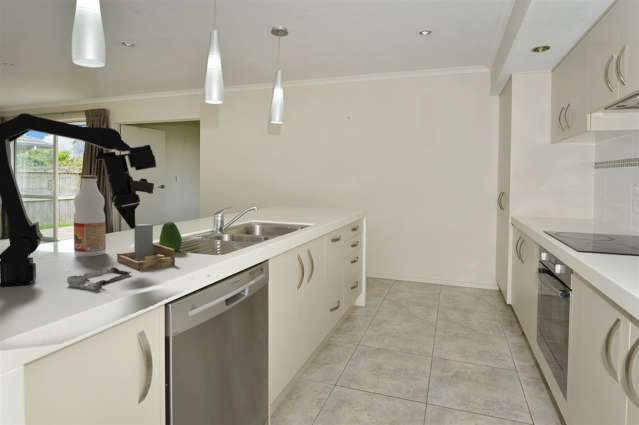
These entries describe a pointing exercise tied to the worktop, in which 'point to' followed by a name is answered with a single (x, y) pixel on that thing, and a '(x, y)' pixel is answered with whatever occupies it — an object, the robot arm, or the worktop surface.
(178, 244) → the avocado
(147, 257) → the offcut
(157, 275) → the worktop surface
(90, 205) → the fruit juice
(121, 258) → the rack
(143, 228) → the grey rectangular block
